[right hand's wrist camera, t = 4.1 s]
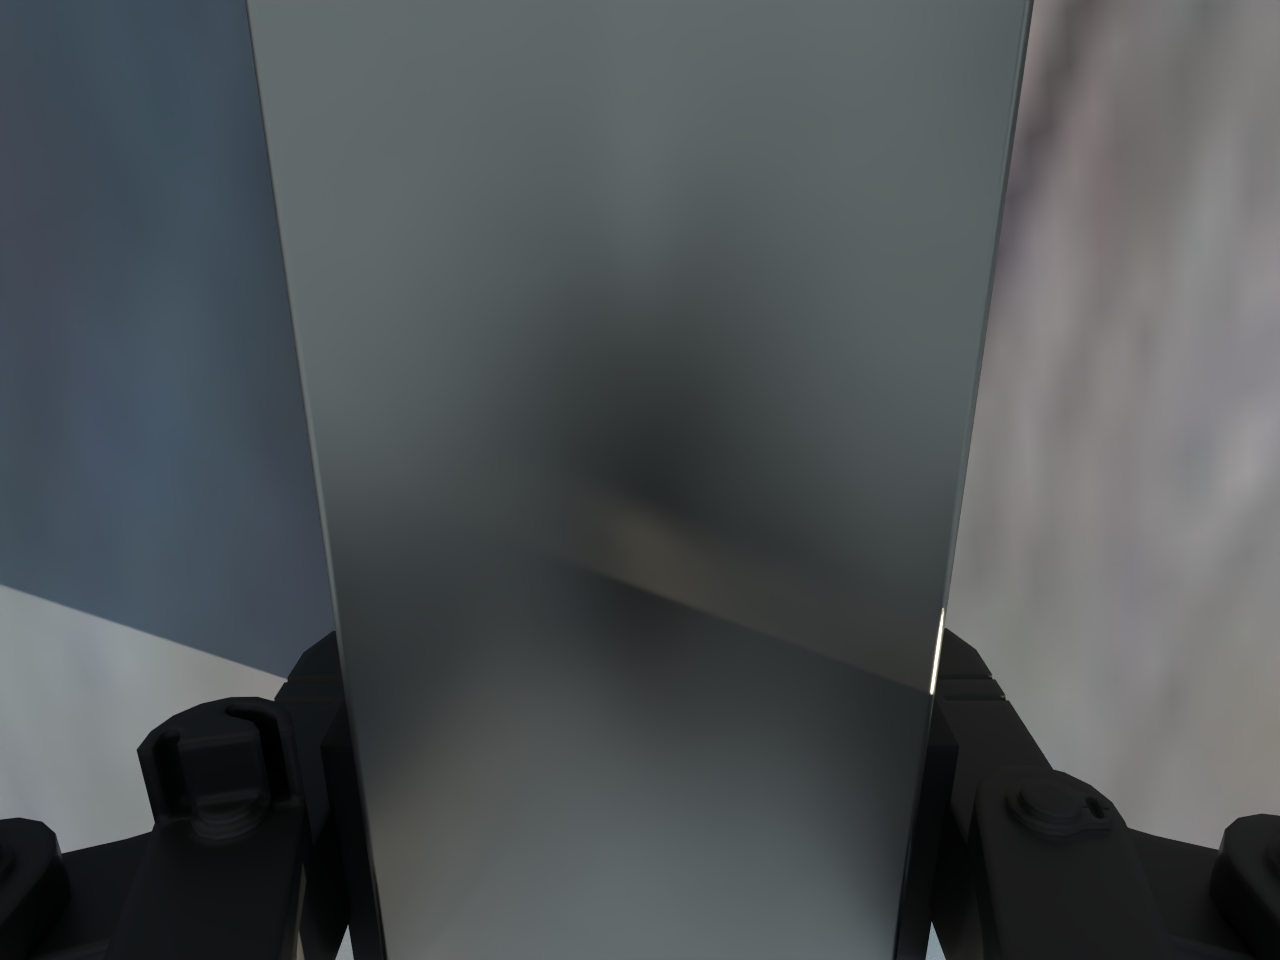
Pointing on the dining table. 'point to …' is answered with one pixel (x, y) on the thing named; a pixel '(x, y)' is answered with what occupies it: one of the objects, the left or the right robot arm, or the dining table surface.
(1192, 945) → the right robot arm
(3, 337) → the dining table surface
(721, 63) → the bar
